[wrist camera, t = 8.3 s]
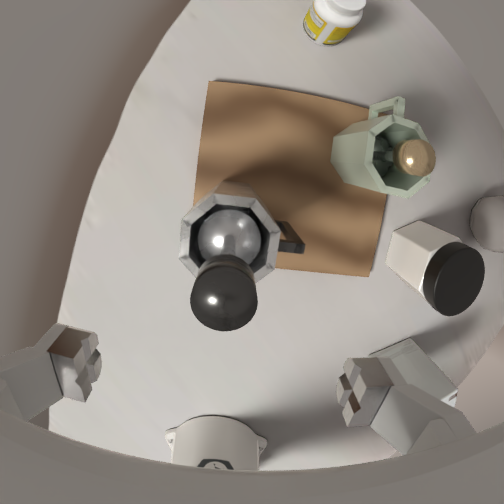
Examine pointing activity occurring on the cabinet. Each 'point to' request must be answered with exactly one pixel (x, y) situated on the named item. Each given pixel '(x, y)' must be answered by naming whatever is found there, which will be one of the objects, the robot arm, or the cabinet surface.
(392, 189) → the pale green octagonal mug
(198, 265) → the steel press
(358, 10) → the supplement bottle
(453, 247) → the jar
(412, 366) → the skincare box
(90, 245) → the cabinet surface
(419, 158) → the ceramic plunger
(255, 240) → the steel plunger
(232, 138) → the serving board
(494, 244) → the potion bottle
